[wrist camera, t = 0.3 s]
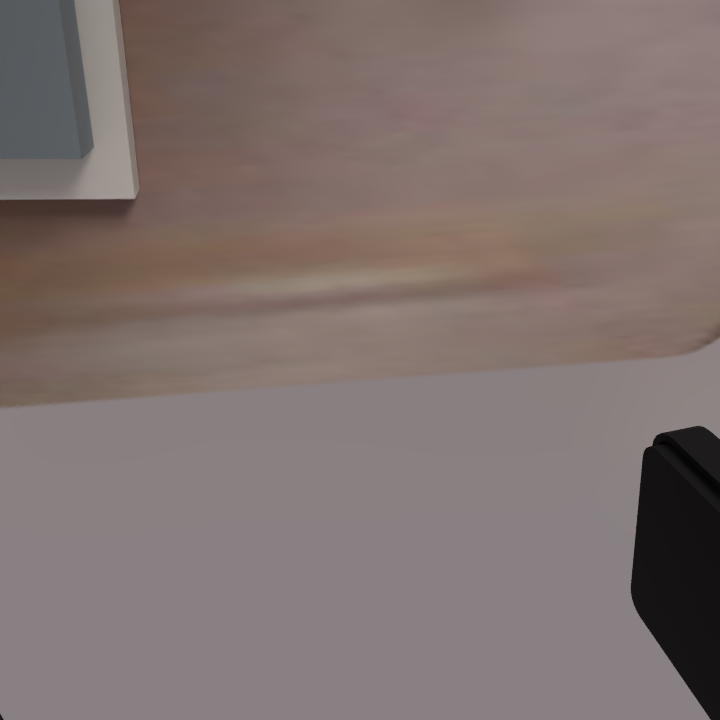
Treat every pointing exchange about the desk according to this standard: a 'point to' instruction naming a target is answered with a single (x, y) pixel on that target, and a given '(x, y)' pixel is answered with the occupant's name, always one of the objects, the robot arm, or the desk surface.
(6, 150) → the housing
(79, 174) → the board
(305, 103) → the desk surface
